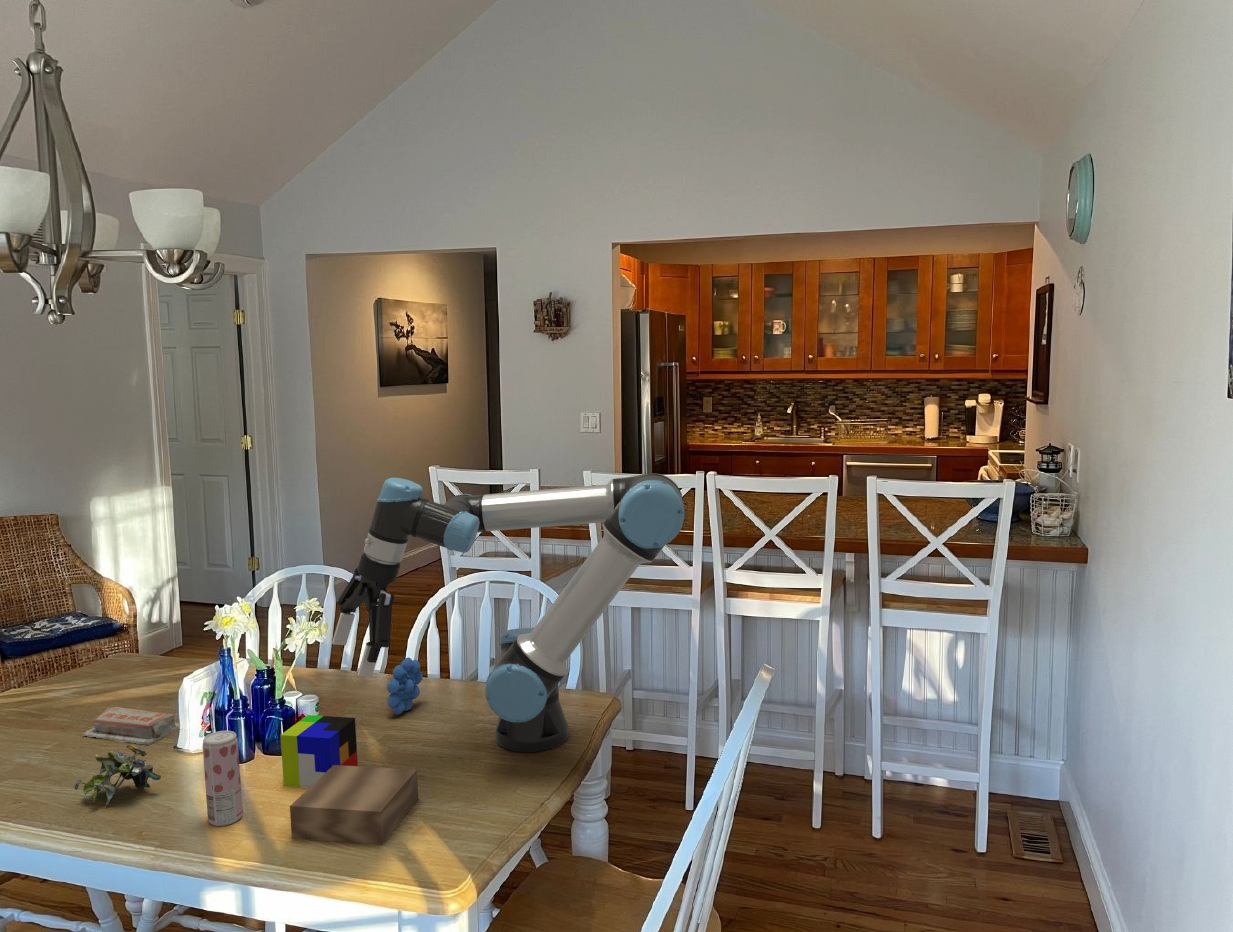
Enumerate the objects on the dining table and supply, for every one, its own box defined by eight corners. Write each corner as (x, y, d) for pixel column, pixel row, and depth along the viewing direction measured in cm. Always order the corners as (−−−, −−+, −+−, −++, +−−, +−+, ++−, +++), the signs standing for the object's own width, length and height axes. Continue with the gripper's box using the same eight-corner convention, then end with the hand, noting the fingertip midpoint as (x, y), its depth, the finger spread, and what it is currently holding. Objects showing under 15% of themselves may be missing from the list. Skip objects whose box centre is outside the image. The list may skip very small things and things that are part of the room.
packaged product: (182, 708, 207) (147, 725, 198) (184, 729, 208) (148, 748, 198) (116, 700, 213) (79, 717, 203) (118, 721, 213) (81, 738, 204)
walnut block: (418, 801, 172) (416, 769, 171) (382, 846, 156) (380, 811, 156) (335, 796, 175) (333, 764, 174) (291, 840, 159) (289, 805, 158)
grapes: (406, 699, 222) (404, 649, 220) (430, 703, 219) (428, 652, 218) (374, 717, 211) (371, 664, 210) (398, 721, 209) (396, 668, 207)
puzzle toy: (332, 789, 176) (329, 738, 175) (283, 786, 178) (280, 734, 177) (357, 766, 186) (355, 717, 185) (311, 763, 188) (308, 714, 187)
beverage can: (248, 810, 169) (242, 729, 167) (236, 826, 163) (230, 742, 162) (215, 811, 169) (209, 730, 167) (202, 827, 163) (196, 743, 161)
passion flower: (141, 816, 179) (176, 765, 178) (99, 834, 168) (136, 780, 167) (100, 778, 181) (134, 728, 180) (56, 794, 170) (92, 740, 170)
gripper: (340, 532, 189) (311, 630, 191) (389, 581, 170) (357, 689, 172) (374, 536, 193) (346, 632, 196) (427, 584, 174) (394, 690, 177)
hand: (351, 659), depth 184 cm, fingers open, 13 cm apart
